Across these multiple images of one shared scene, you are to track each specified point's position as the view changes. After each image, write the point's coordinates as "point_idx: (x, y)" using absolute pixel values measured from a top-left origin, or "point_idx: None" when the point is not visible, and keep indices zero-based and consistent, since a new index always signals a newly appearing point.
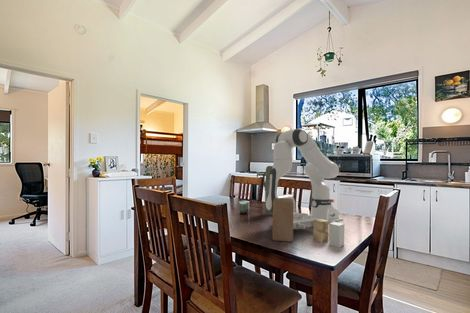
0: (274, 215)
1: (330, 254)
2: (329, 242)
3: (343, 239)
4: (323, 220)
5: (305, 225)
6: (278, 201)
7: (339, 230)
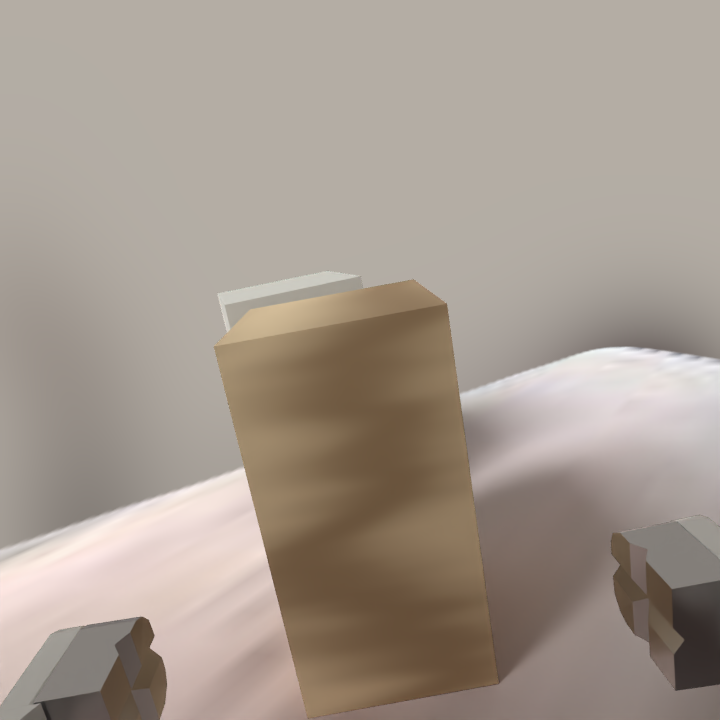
0: None
1: (539, 401)
2: None
3: None
4: (299, 308)
5: (649, 526)
6: None
7: None
